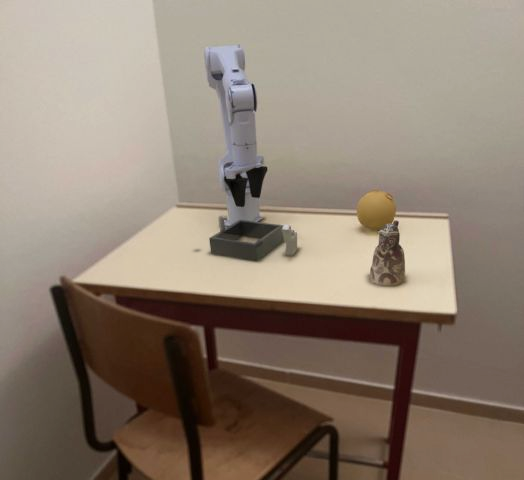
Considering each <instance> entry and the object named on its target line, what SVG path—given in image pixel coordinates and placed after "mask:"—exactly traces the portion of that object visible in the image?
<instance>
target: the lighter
mask: <svg viewBox="0 0 524 480" xmlns="http://www.w3.org/2000/svg"><path fill="white" fill-rule="evenodd" d="M282 225H283V227H282V233H283V238H284V241H283V242H284V243H285V254H286V256H294V255H296V252H297V251H298V232H297V231H295V229H292V228H291V227H292V226H291V225H288V224H282Z"/></svg>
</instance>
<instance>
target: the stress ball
mask: <svg viewBox="0 0 524 480" xmlns="http://www.w3.org/2000/svg"><path fill="white" fill-rule="evenodd" d="M396 213H397V205H396V202H395V200H394V197H393V195H391V193H388V192H385V191H383V190H380V189H374V190H372V191H370V192H368V193H365V194H363V195H362V197H361V198H360V200H359V202H358V204H357V207H356V216H357V219H358V222H359V223H360V225H361V226H362V227H364V228H365V229H367V230H369V231H380V230H381V229H382V227H383V226H384V225H386V224H393V222H394V221H395V216H396Z"/></svg>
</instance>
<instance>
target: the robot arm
mask: <svg viewBox="0 0 524 480" xmlns="http://www.w3.org/2000/svg"><path fill="white" fill-rule="evenodd" d="M203 57H204V58H203V59H204V67H205V73H206V81H207V83H208V87H209V88H211V89H213V90H215V92H216V95H217V98H218V101H219V108H220V115H221V116H220V117H221V122H222V132H223V137H224V145H225V151H226V154H225V155H223V157H221V158H220V159H219V161H218V165H217V166H218V167H217V168H218V181H219V187H220V190H221V191H222V192H225V199H226V209H227V218H228V219H227V220H225V221H224V224H225V227H228V226H230V225H232V224H233V223H235V222H237V221H239V220H246V221H254V222H260V221H261V220H262V219H263V218H264V217H263V216H261V213H260V212H261V210H260V198H261V194H262V190H263V189H262V188H263V184H264V181H265V177H266V174H267V173H268V166H266V165H265V156H264V155H258V146H257V145H258V144H257V143H258V142H257V127H256V126H257V125H256V113H257V110H258V93H257V89H256V85H255V83H254V82H250V83H249V80H248V77H247V75H246V72H245V71H246V55H245V49H244V47H243V45H241V44H236V45H221V46H205V48H204V49H203ZM264 165H265V166H264Z"/></svg>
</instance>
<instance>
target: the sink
mask: <svg viewBox="0 0 524 480" xmlns="http://www.w3.org/2000/svg"><path fill="white" fill-rule="evenodd" d="M217 218H218V228H219V229H218V230H219V232H217V233H215V234H213V235H212V236H211V237H209V238H208V239H209V248H210V249H209V250H210V254H213V255H216V256H224V257H230V258H234V259H242V260H248V261H253V262H258V261H259V260H260V259H262V258H263V257H265V256H266V255H267V254H269V253H270V252H271V251H273V250H274V249H275V248H277V247H278V246H279V245H281V244H282V243H283V242H284V238H283V233H282V227H283V225H284V224H276V223H268V222H261V221H258V222H254V221H246V220H239V221H237V222H235V223H233V224H232V225H230V226H225V224H224V222H225V221H228V216H224V215H218V217H217ZM241 237H247V238H254V239H258V240H257V241H255V242H249V241H243V240H238V239H240V238H241Z"/></svg>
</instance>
